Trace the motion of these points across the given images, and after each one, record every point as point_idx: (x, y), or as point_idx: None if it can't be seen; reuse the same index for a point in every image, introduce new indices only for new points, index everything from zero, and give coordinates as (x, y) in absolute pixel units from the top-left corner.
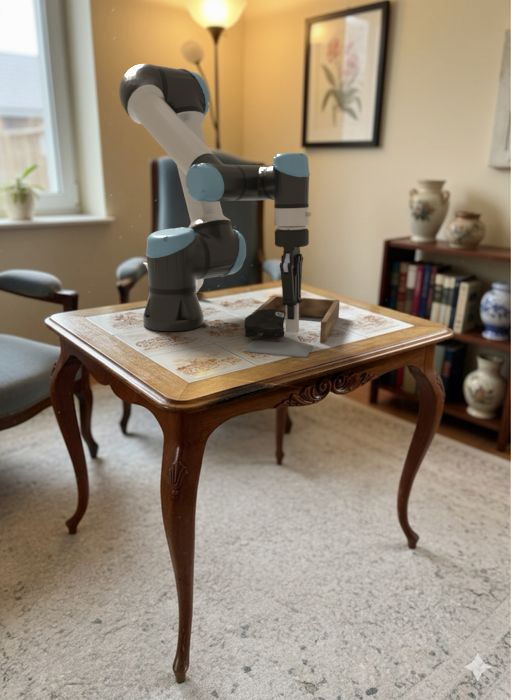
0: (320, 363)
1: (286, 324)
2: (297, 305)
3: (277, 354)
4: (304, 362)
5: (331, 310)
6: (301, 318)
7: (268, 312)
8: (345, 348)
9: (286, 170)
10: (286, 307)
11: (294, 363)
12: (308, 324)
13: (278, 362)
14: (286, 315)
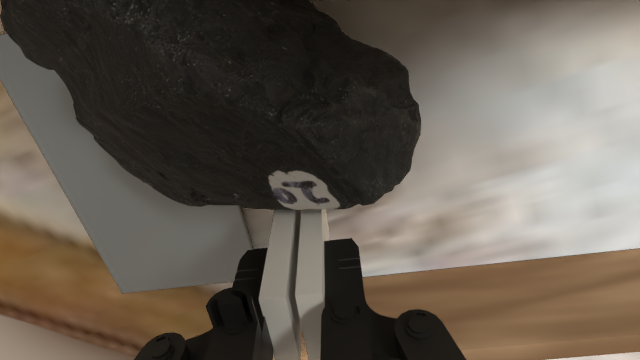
0: (107, 331)
1: (275, 212)
2: (290, 357)
3: (71, 200)
4: (77, 295)
5: (590, 349)
6: None
7: (232, 138)
8: (303, 352)
9: None
10: (261, 289)
11: (42, 274)
12: (637, 161)
13: (3, 229)
14: (270, 248)
